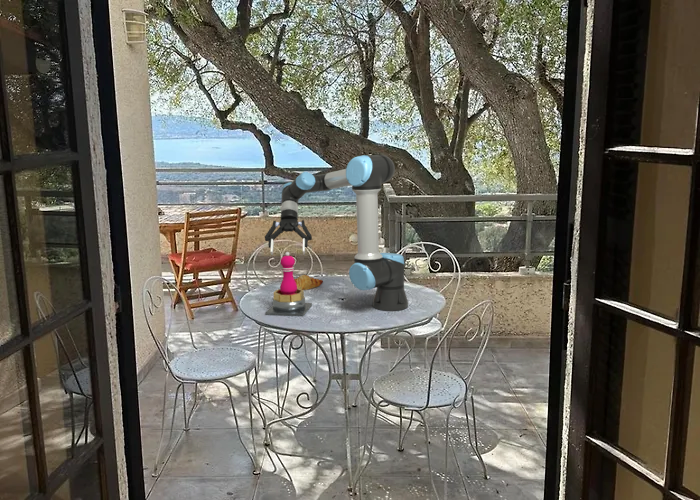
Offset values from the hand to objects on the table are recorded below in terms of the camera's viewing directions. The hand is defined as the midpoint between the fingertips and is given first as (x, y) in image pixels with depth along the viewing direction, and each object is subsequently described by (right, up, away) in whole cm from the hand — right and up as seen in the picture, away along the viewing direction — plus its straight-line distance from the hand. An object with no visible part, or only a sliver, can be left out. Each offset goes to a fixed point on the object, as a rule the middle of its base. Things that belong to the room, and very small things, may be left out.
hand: (287, 253), depth 263 cm
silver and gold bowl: (+1, -24, 0) cm, 24 cm away
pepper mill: (+1, -19, -1) cm, 19 cm away
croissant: (+3, -18, +37) cm, 41 cm away
